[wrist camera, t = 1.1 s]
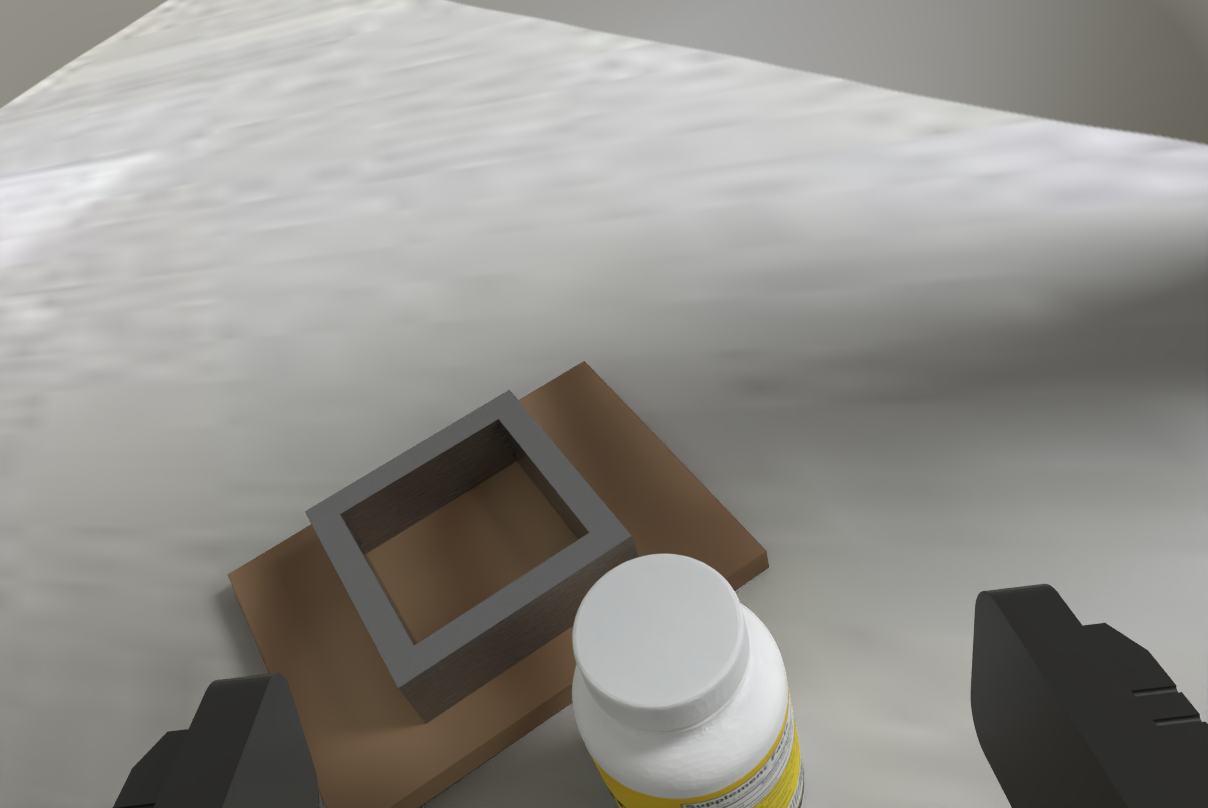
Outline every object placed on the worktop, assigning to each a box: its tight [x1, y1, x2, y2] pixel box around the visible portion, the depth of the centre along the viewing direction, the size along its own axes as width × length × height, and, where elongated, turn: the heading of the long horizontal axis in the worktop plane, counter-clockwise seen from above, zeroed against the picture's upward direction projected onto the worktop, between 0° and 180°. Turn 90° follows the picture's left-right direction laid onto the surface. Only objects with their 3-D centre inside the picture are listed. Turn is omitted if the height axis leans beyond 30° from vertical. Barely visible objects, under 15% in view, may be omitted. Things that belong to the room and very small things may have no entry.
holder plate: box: [228, 361, 769, 808], centre depth 37 cm, size 16×12×1 cm
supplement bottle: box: [572, 554, 804, 808], centre depth 27 cm, size 5×5×10 cm
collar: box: [305, 390, 638, 724], centre depth 36 cm, size 8×8×2 cm
